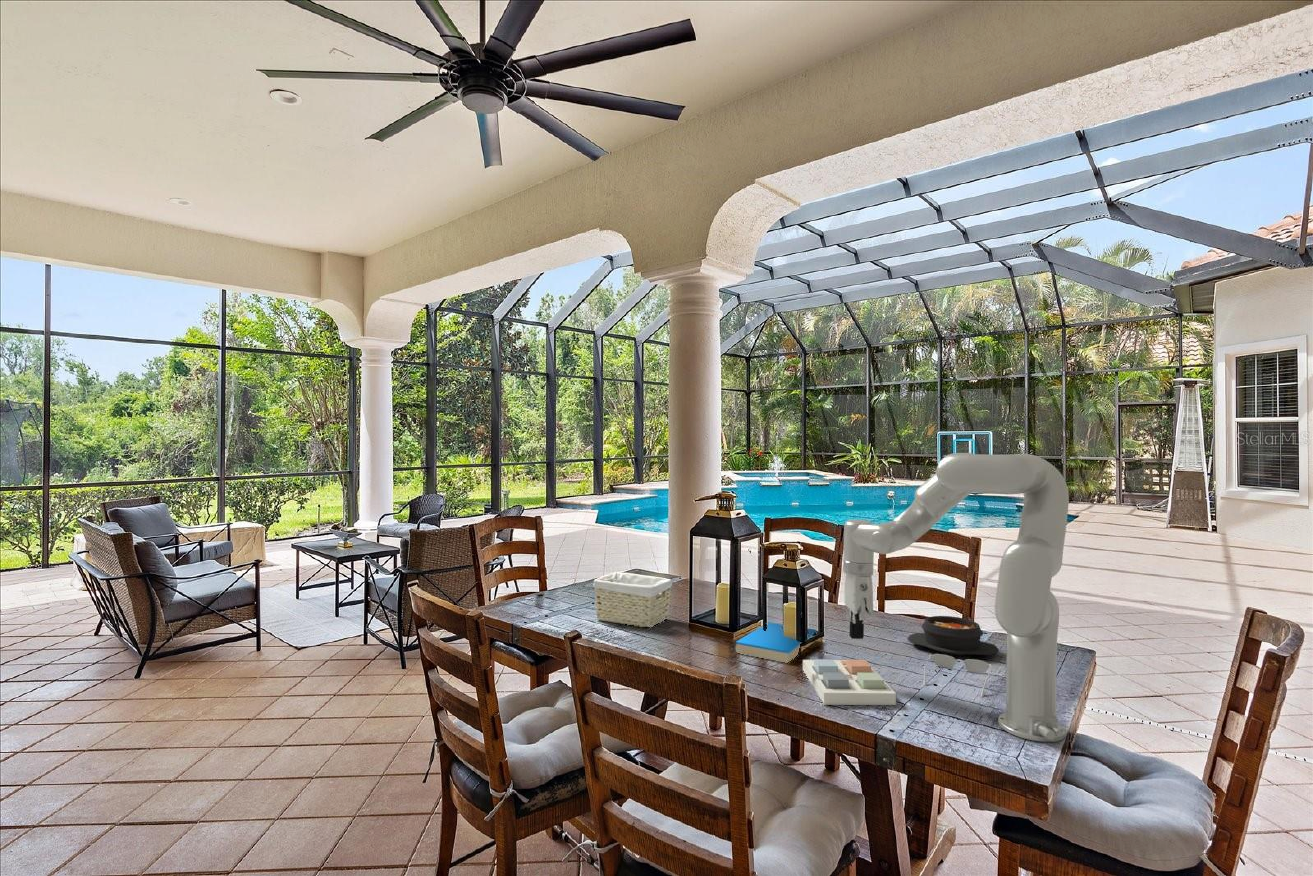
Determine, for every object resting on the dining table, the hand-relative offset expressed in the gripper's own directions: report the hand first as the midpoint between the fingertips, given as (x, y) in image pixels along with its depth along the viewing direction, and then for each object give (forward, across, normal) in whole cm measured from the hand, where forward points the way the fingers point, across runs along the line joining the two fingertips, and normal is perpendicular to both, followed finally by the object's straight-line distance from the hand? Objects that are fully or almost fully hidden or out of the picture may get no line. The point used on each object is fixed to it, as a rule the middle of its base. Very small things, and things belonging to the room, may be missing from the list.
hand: (856, 637), depth 168 cm
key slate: (+9, -10, +8) cm, 16 cm away
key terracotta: (+9, -1, -1) cm, 9 cm away
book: (+13, +28, +15) cm, 34 cm away
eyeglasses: (+12, +1, -27) cm, 29 cm away
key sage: (+9, -10, -1) cm, 13 cm away
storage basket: (+14, +56, +61) cm, 84 cm away
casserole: (+12, +26, -37) cm, 47 cm away
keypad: (+12, -4, +4) cm, 13 cm away
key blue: (+9, -1, +8) cm, 12 cm away
